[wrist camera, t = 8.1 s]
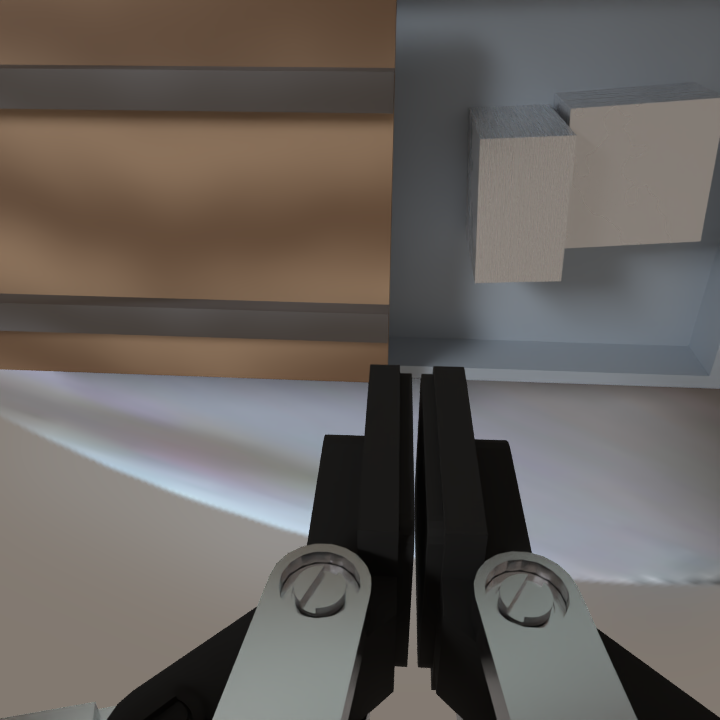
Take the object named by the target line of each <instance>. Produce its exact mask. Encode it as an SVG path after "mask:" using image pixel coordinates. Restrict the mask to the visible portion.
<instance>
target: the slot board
mask: <svg viewBox="0 0 720 720" xmlns="http://www.w3.org/2000/svg"><path fill="white" fill-rule="evenodd" d="M396 16H397V0H0V369H8V370H36V371H64V372H92V373H120V374H148V375H176V376H204V377H232V378H260V379H288V380H317V381H345V382H369V372H370V364H380V365H388V351H389V309H390V267H391V225H392V183H393V141H394V99H395V58H396Z"/></svg>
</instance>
